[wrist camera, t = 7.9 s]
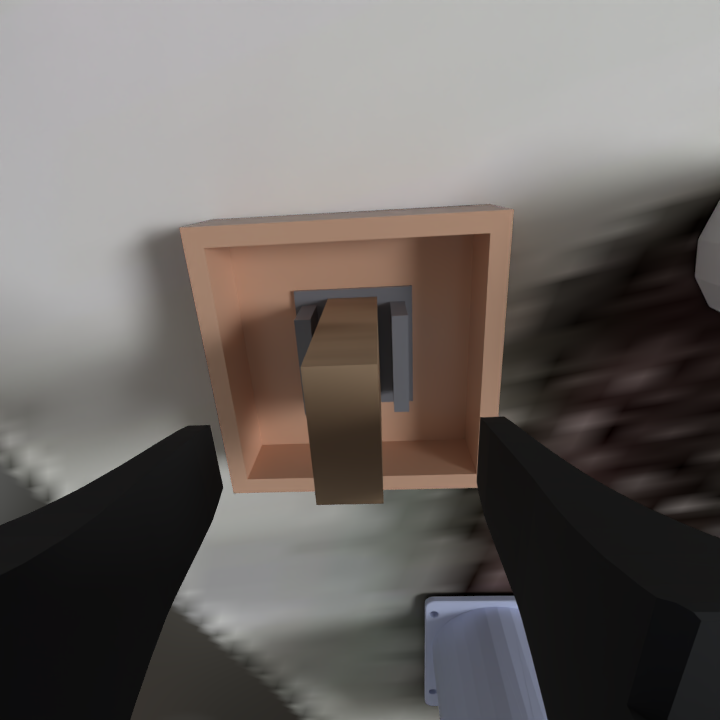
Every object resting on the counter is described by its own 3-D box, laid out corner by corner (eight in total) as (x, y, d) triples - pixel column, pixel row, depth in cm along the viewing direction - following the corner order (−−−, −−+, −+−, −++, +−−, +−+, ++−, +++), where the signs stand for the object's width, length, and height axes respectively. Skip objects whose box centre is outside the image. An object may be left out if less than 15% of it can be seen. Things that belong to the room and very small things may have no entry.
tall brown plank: (381, 395, 19) (383, 503, 13) (336, 396, 19) (316, 504, 13) (376, 296, 18) (377, 364, 11) (327, 298, 18) (300, 366, 11)
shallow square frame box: (476, 444, 21) (492, 487, 18) (253, 450, 22) (233, 493, 19) (489, 204, 17) (513, 209, 14) (212, 219, 17) (179, 227, 15)
